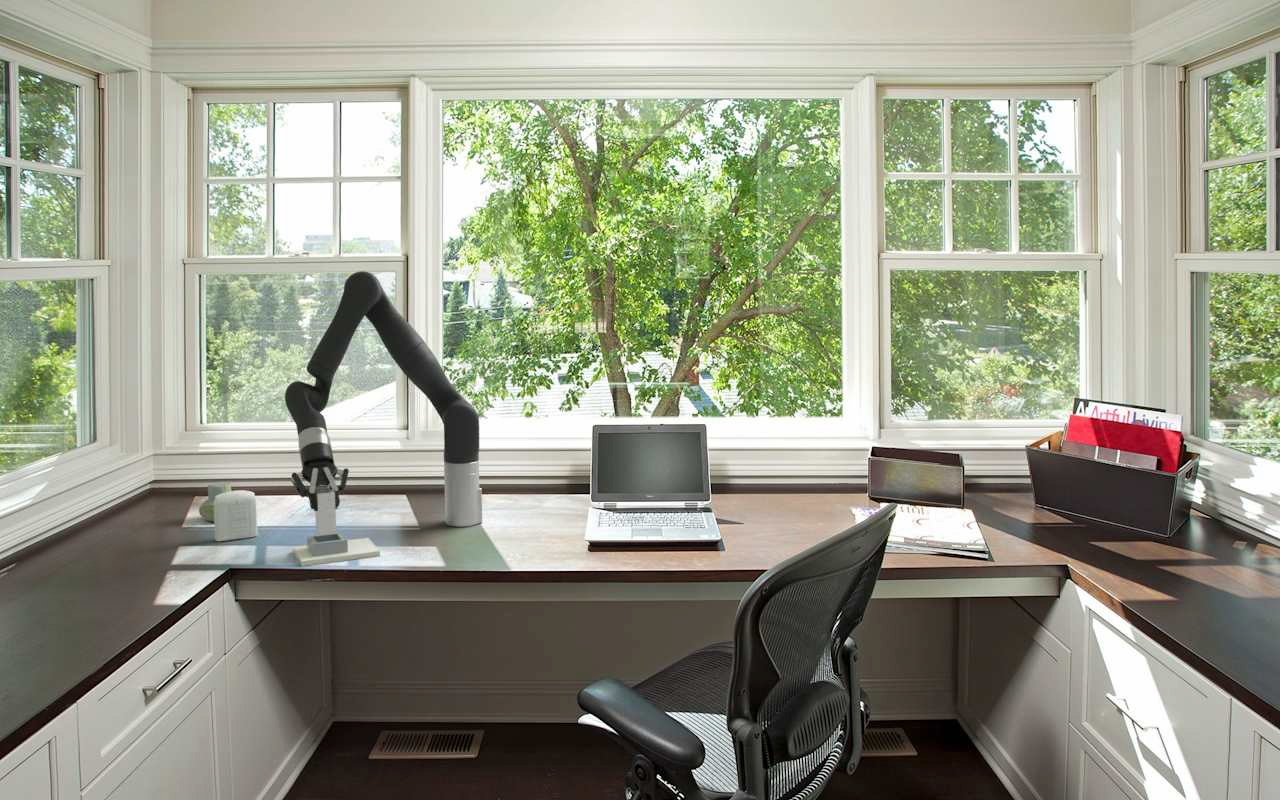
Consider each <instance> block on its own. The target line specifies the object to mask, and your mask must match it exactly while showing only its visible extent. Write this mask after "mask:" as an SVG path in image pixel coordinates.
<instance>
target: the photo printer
mask: <svg viewBox="0 0 1280 800" xmlns="http://www.w3.org/2000/svg"><path fill="white" fill-rule="evenodd" d="M257 507H258V506H257V497H256V495H255V492H253V491H250V490H244V489H243V490H240V489H239V490H238V489H237V490H231V491H229V492H225V493H222V494H219V495H217V496H215V500H214V522H213V523H214V539H215V541H216V542H225V541H226V542H227V541H231V540H232V541H233V540H241V539H248V538H255V536H256V537H258V534H259V533H258V511H257Z"/></svg>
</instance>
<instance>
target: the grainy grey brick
mask: <svg viewBox="0 0 1280 800" xmlns="http://www.w3.org/2000/svg"><path fill="white" fill-rule="evenodd" d="M314 493H315V494H316V500H317V505H318V508H317V511H314V514H315V531H316V533H317V535H322V534H331V533H337V522H336V521H337V519H336V509H335V492H334V491H333V490H332V489H328V488H327V489H326V488H325V489H315V492H314Z"/></svg>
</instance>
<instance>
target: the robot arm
mask: <svg viewBox="0 0 1280 800" xmlns="http://www.w3.org/2000/svg"><path fill="white" fill-rule="evenodd" d="M382 286H383V285H382V284H381V282H380V280H379V279H378V278H377V276H375V275H374V274H373V273H371V272H369V271H365V270H364V271H363V270H361V271H360V270H359V271H356V272H354V273H353V274H350V275H349V276H348V278H347V279H346V280H345V283H344V285H343V292H342V295H341V298H340V301H339V304H338V307H337V310H336V312H335V314H334V317H333V318H332V320H331V322H330V323H329V326H328V327H327V329H326V330H325V333H323V336H322V337H321V339H320V341H319V343H318V344H317V346H316V348H315V350H314V352H313V354H312V355H311V357H310V360H309V361H308V363H307V365H306V371H307V373H308V374H309V375H310V376H312V377H313V378H315V383H314V385H313V384H309V383H307V382H303V381H299V380H297V381H292V382H291V383H290V384H289V385H288V386H287V388H286V389H285V393H284V401H285V406H286V408H287V410H288V412H289V414H290V416H291V418H292V420H293V422H294V423H295V425H296V432H297V437H298V452H299V455H300V456H299V457H300V462H301V467H302V469H301V472H298V473H296V472H292V474H291V478H290V482H291V483H292V485H293V487H294V488H295V489H296V491H297V493H298V494H299V496H300V497H301V498H308V501H309V506H310V509H311V510H313V512H315V511H317V508H318V505H317V500H316V494H315V490H316V487H320V486H324V487H326V488H327V489H332V490H333V491H334V492H335V510H337V509H338V507H340V504H341V499H340V496H339V495H340V494H342V495H343V494H345V491H346V490H345V489H346V485H347V481H348V476H349V473H350V472H349V471H350V470H349V468H347V467H346V468H343V469H339V468H338V466H336V464H335V459H334V456H333V455H334V454H333V448H332V443H331V440H330V436H329V434H328V429H327V424H326V420H325V417H324V415H323V414H322V411H324V410H325V408H326V407H327V405H328V402H329V398H330V393H331V389H332V385H333V379H334V377H335V374H336V372H337V371H338V370H339V367H340V365H341V363H342V361H343V359H344V357H345V355H346V353H347V351H348V349H349V346H350V343H351V341H352V339H353V336H354V334H355V332H356V330H357V329H358V327H359V326H360V323H361V322H362V320H363V319H364V318H367V320H368V321H369V322H370V323H371V325H372V326H373V327H374V330H376V332H377V333H378V336H379V337H380V340H381V341H382V343H383V346H384V347H385V349H386V350H387V352H388V354H389V355H390V356H391V358H392V359H393V361H394V362H395V364H396V365H397V366H398V367H399V368H400V370H401V371H402V372H403V374H404V375H405V376H406V377H407V378H408V380H409V381H411V382H412V384H413V385H414V386H416V387H417V388H418V389H419V390H420V391H421V392H422V393H423V394H424V395H425V396H426V398H427V399H428V400H429V402H430V403H431V405H432V407H433V408H434V409H435V411H436V412H437V414H438V415H439V419H441V422H442V423H443V443H444V445H443V446H444V447H443V468H444V469H443V470H444V471H443V472H444V473H443V474H444V478H443V479H444V507H445V511H444V512H445V514H444V515H445V516H444V517H445V518H444V519H445V525H447V526H451V527H472V526H474V525H478V524H482V523H483V493H482V492H483V491H482V488H481V487H480V465H479V464H480V462H479V461H480V459H479V454H480V417H479V414H478V412H477V410H476V408H475V407H474V406H473V405H472V404H471V403H470V402H468V400H466V398H465V397H464V396H462V394H461V393H460V392H459V391H458V389H457V388H456V387H454V385H453V384H452V383H451V382H450V380H449V379H448V377H447V375H446V373H445V371H444V370H443V369H444V368H442V366H441V364H440V362H439V360H438V359H437V357H436V356H435V354H434V353H433V352H432V349H431V348H430V347H429V346H428V345H427V343H426V342H425V340H424V339H423V338H422V337H421V335H419V333H418V332H417V331H416V330H415V328H414V327H413V326H412V325H411V324H410V323H409V322H408V321H407V320H406V319H405V318H404V317H403V316H402V315H401V314H400V313H399V312H398V310H397V309H396V307H395V306H394V305H393V302H392V301H391V300H390V298H389V297H388V295H387V293H386V291H385V290H384V288H383V287H382ZM337 475H338V477H339V479H340V485H339V486H338V485H337V484H336V481H335V477H336V476H337ZM303 479H304V480H305V481H307V483H309V489H307V488H306V486H305V485H304V483H303V481H302V480H303Z"/></svg>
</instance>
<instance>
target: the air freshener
mask: <svg viewBox="0 0 1280 800" xmlns="http://www.w3.org/2000/svg"><path fill="white" fill-rule="evenodd" d="M229 491H232V484H231V482H227V481H218V482H212V483H210V484H208V485H207V498H208V499H207V500H205V501H204V502H202V503H201V505H199V508H198V513H199V515H200V516H201V517H202V518H203V519H204V520H206V521H209V522H211V523H214V500H215V496H217V495H219V494H222V493H225V492H229Z"/></svg>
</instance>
